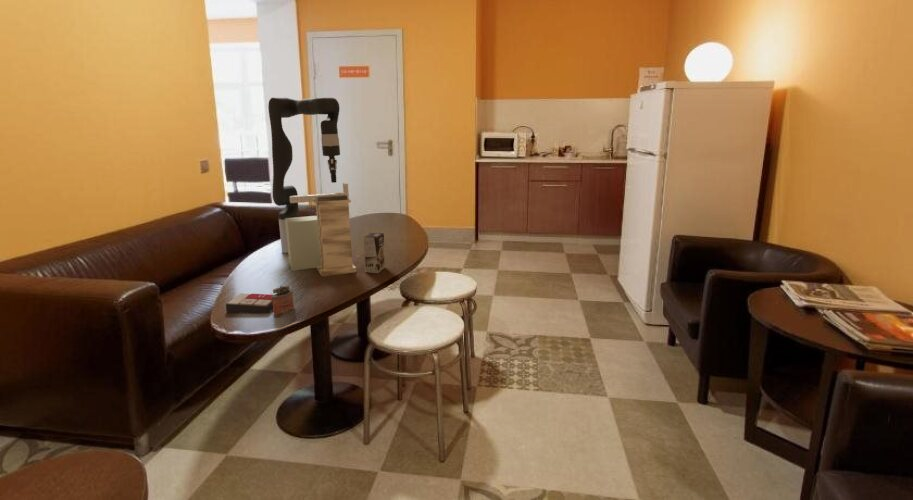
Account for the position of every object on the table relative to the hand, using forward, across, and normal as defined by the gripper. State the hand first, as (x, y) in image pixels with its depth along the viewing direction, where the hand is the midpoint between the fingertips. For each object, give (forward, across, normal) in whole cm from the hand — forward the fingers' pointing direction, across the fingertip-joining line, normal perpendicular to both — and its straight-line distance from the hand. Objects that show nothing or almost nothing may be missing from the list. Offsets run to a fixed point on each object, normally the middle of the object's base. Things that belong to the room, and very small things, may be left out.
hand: (334, 181), depth 224 cm
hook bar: (+6, +13, -6) cm, 16 cm away
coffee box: (+39, +14, +15) cm, 44 cm away
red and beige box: (+39, +49, -32) cm, 71 cm away
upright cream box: (+38, 0, -15) cm, 41 cm away
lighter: (+39, +58, -20) cm, 73 cm away
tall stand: (+38, +12, -2) cm, 40 cm away
